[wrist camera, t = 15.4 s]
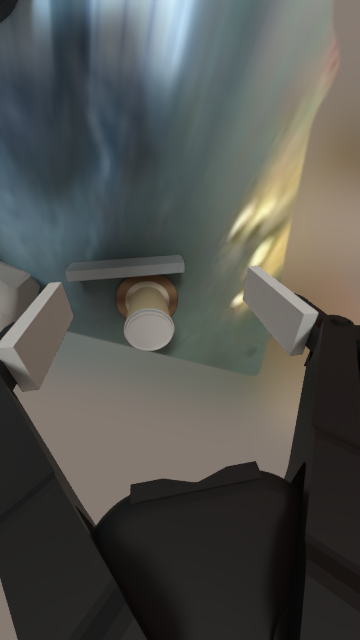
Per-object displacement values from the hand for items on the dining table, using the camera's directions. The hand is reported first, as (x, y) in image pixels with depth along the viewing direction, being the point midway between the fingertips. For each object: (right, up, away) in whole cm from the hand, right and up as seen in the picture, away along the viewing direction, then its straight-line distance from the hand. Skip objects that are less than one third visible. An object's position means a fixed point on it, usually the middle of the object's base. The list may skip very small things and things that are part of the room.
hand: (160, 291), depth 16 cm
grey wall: (-9, +10, +29) cm, 32 cm away
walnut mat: (-6, +3, +34) cm, 35 cm away
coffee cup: (-6, +2, +34) cm, 34 cm away
